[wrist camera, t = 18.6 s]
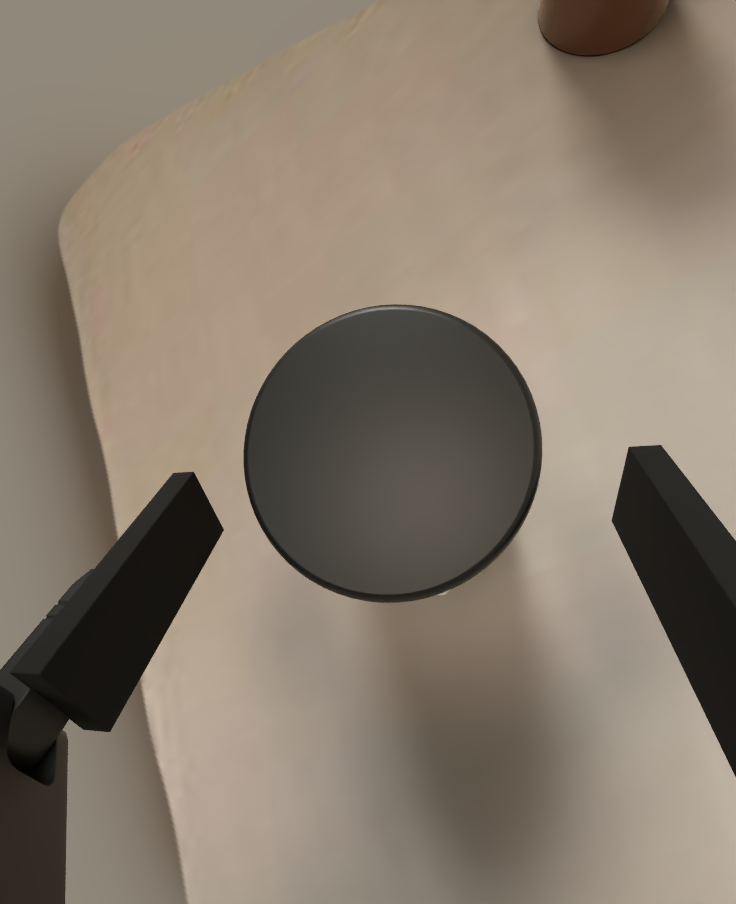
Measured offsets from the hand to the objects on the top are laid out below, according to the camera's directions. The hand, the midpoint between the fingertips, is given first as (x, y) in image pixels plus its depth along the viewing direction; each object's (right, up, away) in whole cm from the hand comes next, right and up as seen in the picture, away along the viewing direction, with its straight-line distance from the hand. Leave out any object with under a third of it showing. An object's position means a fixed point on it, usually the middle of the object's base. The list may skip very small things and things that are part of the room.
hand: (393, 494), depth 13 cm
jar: (+2, 0, +10) cm, 10 cm away
